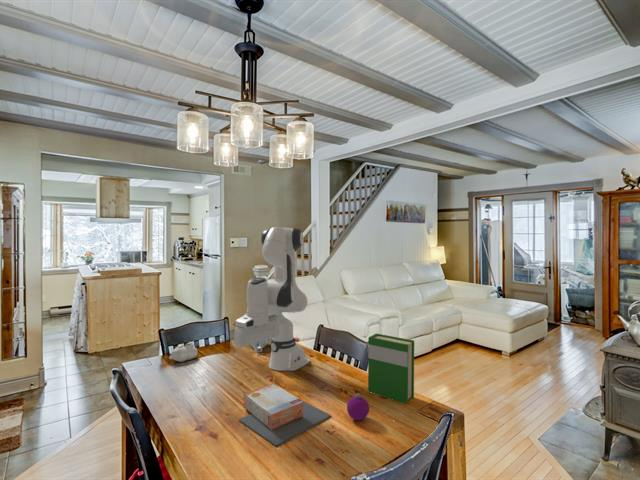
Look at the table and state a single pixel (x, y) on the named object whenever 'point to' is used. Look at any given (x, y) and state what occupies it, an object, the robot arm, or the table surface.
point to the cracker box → (273, 406)
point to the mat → (286, 425)
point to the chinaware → (264, 343)
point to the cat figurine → (184, 352)
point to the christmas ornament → (358, 407)
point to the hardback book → (391, 367)
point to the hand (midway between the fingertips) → (258, 351)
